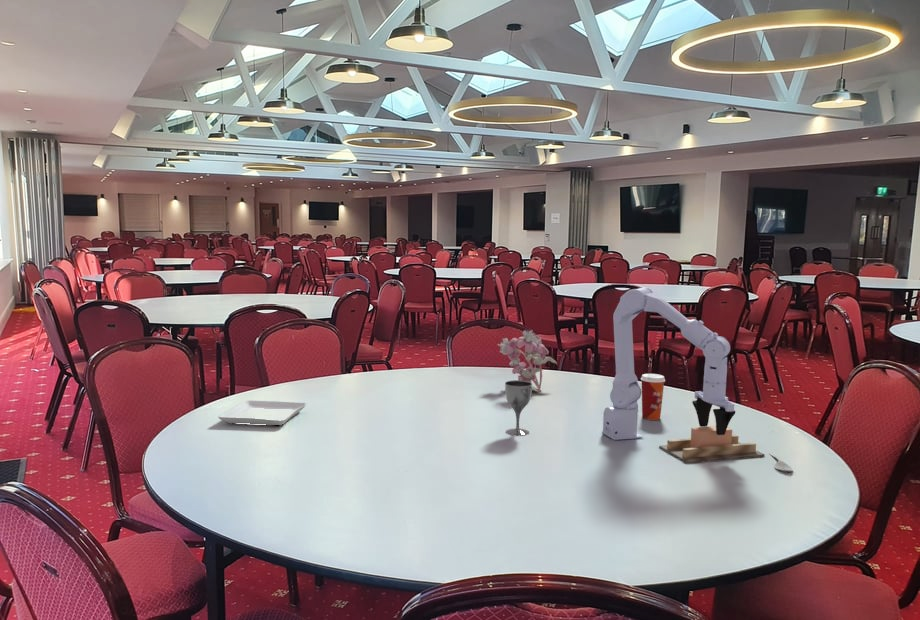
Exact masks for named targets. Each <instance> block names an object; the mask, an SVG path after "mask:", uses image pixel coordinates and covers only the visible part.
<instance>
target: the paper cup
mask: <svg viewBox="0 0 920 620" xmlns="http://www.w3.org/2000/svg"><path fill="white" fill-rule="evenodd" d="M640 380H641V416H642V419H644V418H646V419H645V420H647V419H651V420H650V421H658V419H659V420H660V419H661V414H662V408H663V407H662V406H663V398H664V397H663V396H664V389H665V388H664V387H665V382H666V379H665V376H664V375H662V374H657V373H644V374H643V373H642V375H641V377H640Z"/></svg>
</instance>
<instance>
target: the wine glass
mask: <svg viewBox="0 0 920 620" xmlns="http://www.w3.org/2000/svg"><path fill="white" fill-rule="evenodd" d="M532 387H533V383H532V381H531V382H528V381H521V380H508V381H505V383H504V391H505V398H506V401H507V404H508V405H509V406H510V407H511V409H512V411H514V414H515V421H516V422H515V423H516V425H515V428H509V429H506V430H505V433H506V434H507V433H508V435H509V434H510V436H514V435H516V436H515V437H522V436H521V435H524V436H527V434H528V435H529V434H530V431H529V430H527V429H525V428H520V417H521V413H522V411H523V410H524V409H525V408H526V406H528V405H529V403H530V400H531V397H532V391H533V390H532ZM519 435H520V436H519Z"/></svg>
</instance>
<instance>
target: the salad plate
mask: <svg viewBox="0 0 920 620" xmlns="http://www.w3.org/2000/svg"><path fill="white" fill-rule="evenodd" d="M306 405H307V403H306V402H294V401H293V402H292V401H278V400H277V401H276V400H275V401H274V400H273V401H272V400H245V401H243V402H241V403H240V404H237V405H236V406H234V407H232V408H229V410H226V411H225V412H224V413H222V414H220V415H219V416H218V419H219V420H221V421H222V422H225V423H227V422H228V424H232V423H250V424H266V425H280V426H282V424H283V425H284V424H285V423H287V421H289V420H290V419H291V418H293V417H294V416H295V415H296V414H298V413H299V412H300V411H302V410H303V409H304V408H305V407H306ZM250 408H264V409H292V410H295V411H294V412H293V413H292V414H291V415H290V416H289V417H287V418H286V419H284V420H281V421H279V420H266V419H255V418H236V417H237V416H239V415H240V414H242V413H244V412H246V411H247V410H249V409H250Z"/></svg>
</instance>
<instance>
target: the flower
mask: <svg viewBox="0 0 920 620" xmlns="http://www.w3.org/2000/svg"><path fill="white" fill-rule="evenodd" d="M522 335H523V336H520V337H519V336H518V338H517V337H513V338H512V339H510V340H508V338H507V337H505V338H502V339H501V340H502V341H501V342H500V344H499V343H497V346H498V347H500V349H499V353H502V355H504V356H506V355H507V356H508V357H507V358H508V359H509V360H510V362H509V366H510V367H513V368H512V369H511V373H512V374H513V375H515V374H519V375H517V377H518V378H517V379H518V380H521V381H528V382H531V383H532V382H533V383H534V385H535V386H536V387H535V386H532V391H536V392H538V393H540V394H543V392H542V390H541V386H542V381H543V369H542V364H543V365H544V364H546V363H547V362H551V363H552V364H556V365H558V362H557V361H556V360H555V359H554V358H552V357H551V356H547V355H549V353H550V351H549V350H548V349H547V347H545V345H544V344H543V343H542V342H543V341H542V336H540V337H537V336H538V334H535V333H534V332H533V329H531V330H528V331H527V330H526V329H525V330H523V331H522ZM522 347H524V352H523V351H522V350H521V348H522ZM521 354H522V355H523V356H524V358H525V360H526V361H527V363H528V366H529V367H527V363H526V362H525V361H522V362H521V359H520V358H519V357H520V356H521ZM531 360H532V362H531ZM532 363H533V364H532ZM533 365H535V366H539V367H533ZM537 373H539V381H538V378H537V375H536V374H537Z"/></svg>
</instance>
